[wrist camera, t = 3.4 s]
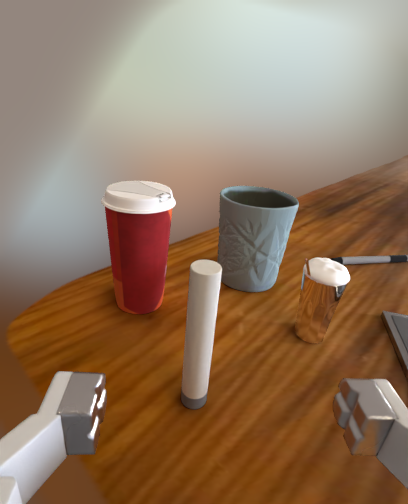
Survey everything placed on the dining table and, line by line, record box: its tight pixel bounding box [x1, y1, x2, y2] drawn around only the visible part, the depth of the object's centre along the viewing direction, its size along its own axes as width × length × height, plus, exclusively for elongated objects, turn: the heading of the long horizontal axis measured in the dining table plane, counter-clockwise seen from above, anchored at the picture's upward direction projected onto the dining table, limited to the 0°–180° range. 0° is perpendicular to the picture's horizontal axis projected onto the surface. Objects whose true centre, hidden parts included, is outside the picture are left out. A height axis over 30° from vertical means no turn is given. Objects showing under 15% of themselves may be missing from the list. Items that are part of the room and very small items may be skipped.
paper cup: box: [101, 181, 176, 314], centre depth 38 cm, size 8×8×14 cm
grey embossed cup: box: [217, 186, 299, 292], centre depth 46 cm, size 10×10×12 cm
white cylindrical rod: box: [181, 260, 222, 409], centre depth 26 cm, size 2×2×13 cm
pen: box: [331, 255, 408, 265], centre depth 56 cm, size 1×16×1 cm, turn 103°
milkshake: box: [295, 257, 350, 344], centre depth 36 cm, size 4×5×10 cm
